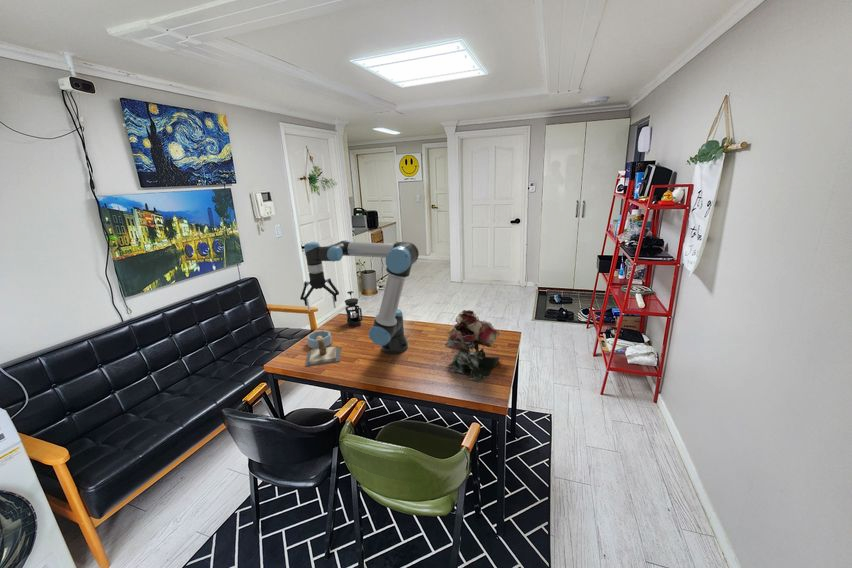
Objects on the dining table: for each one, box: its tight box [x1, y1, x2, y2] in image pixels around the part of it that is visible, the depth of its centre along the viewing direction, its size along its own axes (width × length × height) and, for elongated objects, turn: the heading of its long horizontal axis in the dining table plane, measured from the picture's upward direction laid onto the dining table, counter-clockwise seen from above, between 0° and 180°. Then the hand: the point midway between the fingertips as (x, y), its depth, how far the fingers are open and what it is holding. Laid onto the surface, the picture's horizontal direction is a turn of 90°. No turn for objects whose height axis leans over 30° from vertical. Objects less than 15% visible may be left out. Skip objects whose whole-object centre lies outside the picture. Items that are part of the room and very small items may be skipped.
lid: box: [309, 339, 338, 364], centre depth 196 cm, size 14×14×10 cm
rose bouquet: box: [444, 309, 500, 383], centre depth 179 cm, size 26×29×30 cm
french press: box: [344, 290, 363, 328], centre depth 236 cm, size 12×9×23 cm
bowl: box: [306, 329, 332, 350], centre depth 213 cm, size 13×13×6 cm
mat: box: [305, 347, 341, 368], centre depth 198 cm, size 18×16×1 cm
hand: (322, 309), depth 194 cm, fingers open, 13 cm apart
